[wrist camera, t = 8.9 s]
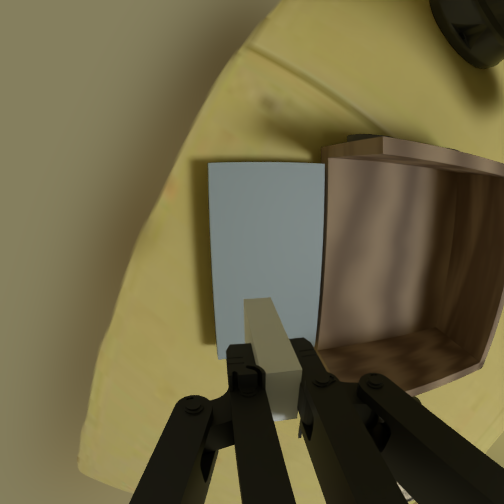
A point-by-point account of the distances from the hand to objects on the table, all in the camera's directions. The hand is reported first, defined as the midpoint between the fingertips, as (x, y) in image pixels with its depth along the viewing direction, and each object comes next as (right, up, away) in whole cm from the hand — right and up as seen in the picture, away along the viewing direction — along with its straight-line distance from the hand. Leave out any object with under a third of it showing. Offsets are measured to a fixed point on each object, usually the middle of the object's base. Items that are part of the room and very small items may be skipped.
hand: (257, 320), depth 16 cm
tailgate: (+7, +3, +13) cm, 15 cm away
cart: (+16, +4, +17) cm, 24 cm away
